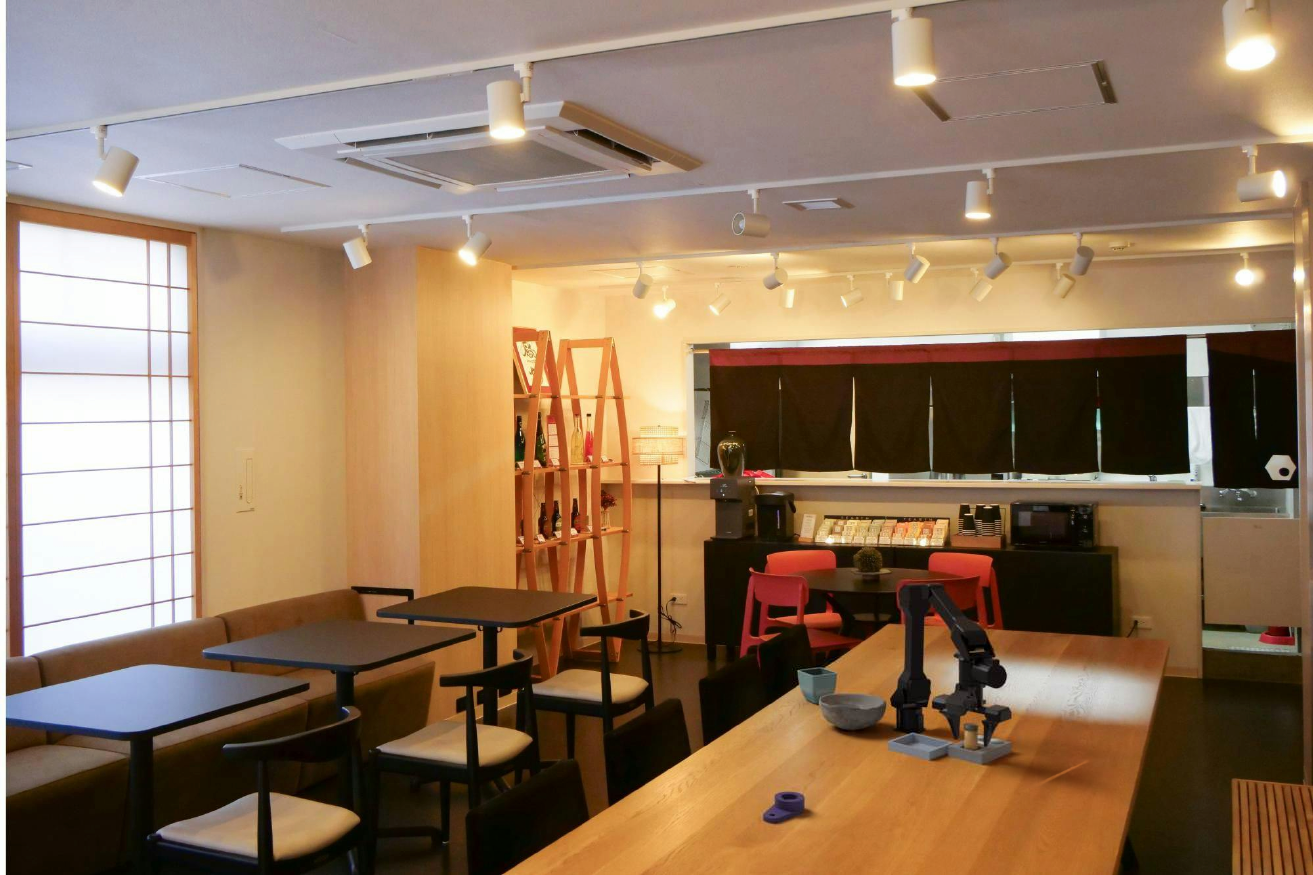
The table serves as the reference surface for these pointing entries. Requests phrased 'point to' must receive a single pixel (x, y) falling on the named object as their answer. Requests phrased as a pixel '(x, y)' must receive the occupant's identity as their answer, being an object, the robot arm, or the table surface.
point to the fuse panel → (980, 751)
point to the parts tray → (919, 746)
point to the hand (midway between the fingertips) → (971, 743)
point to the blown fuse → (971, 736)
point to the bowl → (852, 710)
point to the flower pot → (816, 683)
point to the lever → (785, 807)
